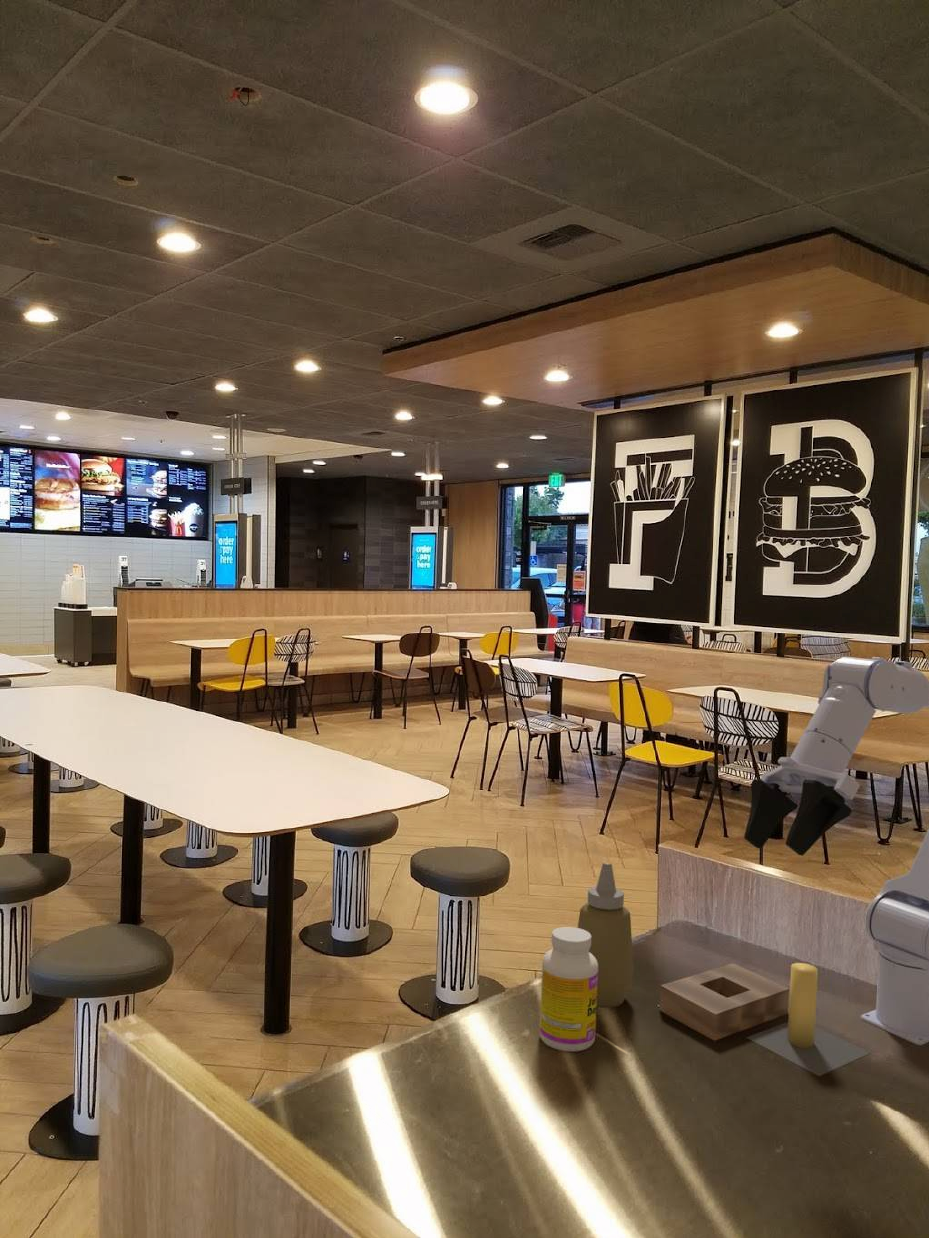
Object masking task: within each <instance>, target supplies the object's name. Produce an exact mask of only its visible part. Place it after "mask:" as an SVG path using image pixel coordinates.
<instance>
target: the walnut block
mask: <svg viewBox="0 0 929 1238" xmlns="http://www.w3.org/2000/svg"><path fill="white" fill-rule="evenodd" d="M789 1000H790V987H786V986H784V985H781V984H779V983H777V982H775V981H774V980H772V979H768V978H766V977H765V976H762V975H760V974H758V973H756V972H753V971H751V970H749V969H746V968H744V967H742V966H740V965H738V964H736V963H729V964H727V965H723V966H720V967H716V968H713V969H709V970H706V971H703V972H700V973H696V974H693V975H689V976H687V977H684V978H679V979H677V980H674V981H671V982H667V983H664V984H661V985H660V988H659V1009H658V1011H660V1012H661V1013H664V1014H665V1015H667V1016H669V1017H671V1018H673V1019H674V1020H676V1021H678V1022H679V1023H681V1024H683V1025H685V1026H686V1027H688V1028H691V1029H692V1030H694V1031H696V1032H698V1033H699V1034H702V1035H703V1036H705V1037H707V1039H710V1040H712V1041H713V1042H714V1041H717V1040H720V1039H722V1038H723V1039H724V1038H726V1037H729V1036H731V1035H733V1034H737V1033H739V1032H741V1031H745V1030H747V1029H751V1028H753V1027H756V1026H759V1025H760V1024H764V1023H767V1022H769V1021H772V1020H774V1019H777V1018H779V1017H782V1016H785V1015H789Z"/></svg>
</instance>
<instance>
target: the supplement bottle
mask: <svg viewBox="0 0 929 1238" xmlns="http://www.w3.org/2000/svg"><path fill="white" fill-rule="evenodd" d="M550 942H551V946H552V949H549V950H548V951H547V952H546V953H545V954H544V955H543V958H542V965H541V966H542V967H541V968H542V969H541V990H540V992H541V993H540V1007H539V1008H540V1009H539V1012H540V1013H539V1037H540V1038H541V1041H542V1042H543V1043H544V1044H546V1045H547V1046H548V1047H550V1048H552V1049H554V1050H559V1051H562V1052H574V1053H575V1052H580V1051H585V1050H587V1049H589V1048H590V1047H592V1045H594V1043H595V1041H596V1040H595V1038H596V1028H597V1027H596V1025H597V982H598V963H597V960H596V958H595V957H594V956H593V955H592V954H591V953H589V949H590V947H591V934H590V933H589V932H587V931H585V930H583V929H580V928H578V927H574V926H562V927H561V926H560V927H557V928H555V929H554V930H552V932H551V941H550Z"/></svg>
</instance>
